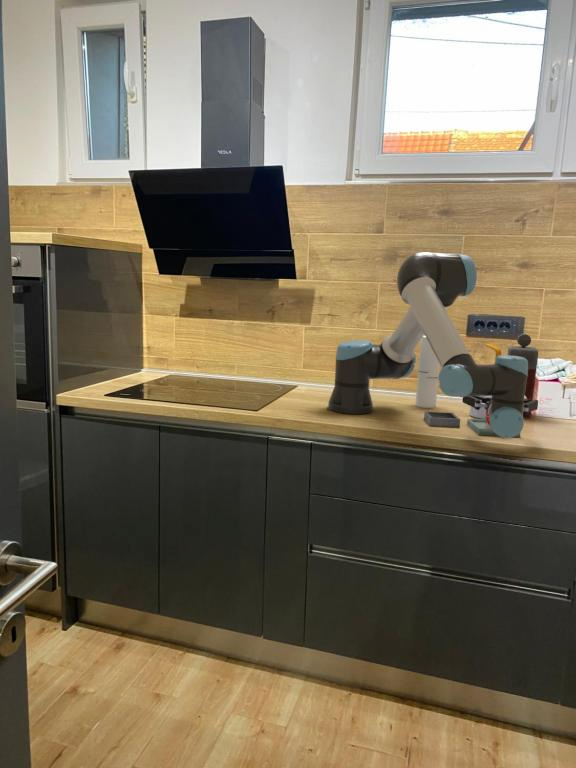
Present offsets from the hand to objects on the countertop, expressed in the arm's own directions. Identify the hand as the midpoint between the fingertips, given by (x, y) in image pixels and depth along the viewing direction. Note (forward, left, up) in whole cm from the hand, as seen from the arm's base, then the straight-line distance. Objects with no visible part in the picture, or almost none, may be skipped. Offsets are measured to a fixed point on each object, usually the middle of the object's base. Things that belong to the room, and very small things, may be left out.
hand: (497, 396), depth 170 cm
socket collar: (-14, +9, -11) cm, 20 cm away
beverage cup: (0, +2, -10) cm, 10 cm away
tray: (0, +2, -11) cm, 11 cm away
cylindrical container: (-14, +34, -11) cm, 38 cm away
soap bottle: (+3, +21, -11) cm, 24 cm away
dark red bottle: (+16, +28, -11) cm, 34 cm away
